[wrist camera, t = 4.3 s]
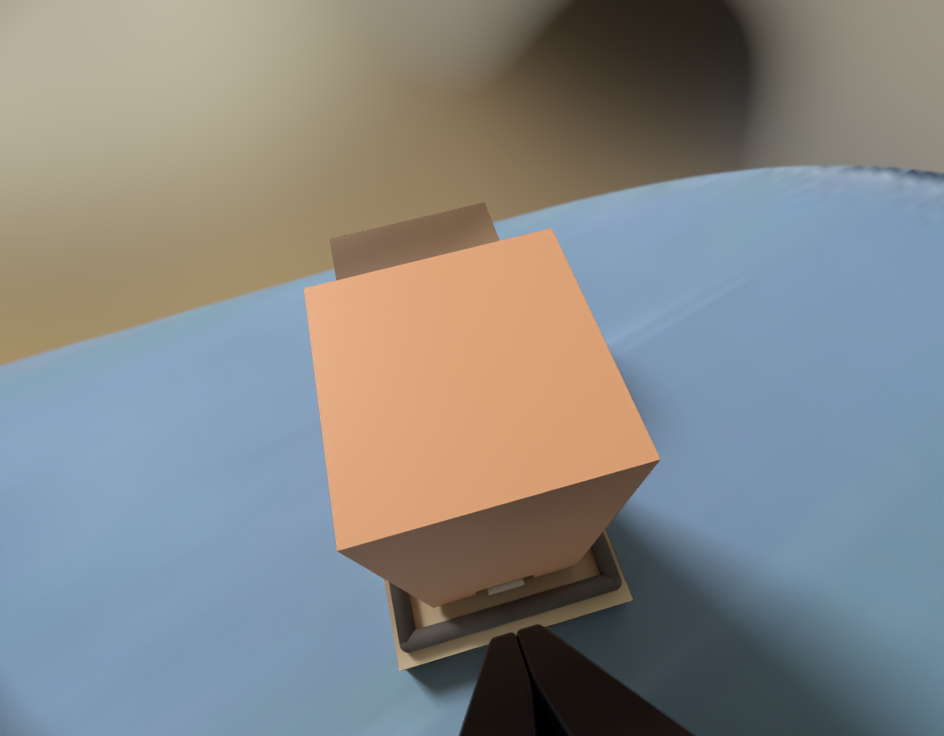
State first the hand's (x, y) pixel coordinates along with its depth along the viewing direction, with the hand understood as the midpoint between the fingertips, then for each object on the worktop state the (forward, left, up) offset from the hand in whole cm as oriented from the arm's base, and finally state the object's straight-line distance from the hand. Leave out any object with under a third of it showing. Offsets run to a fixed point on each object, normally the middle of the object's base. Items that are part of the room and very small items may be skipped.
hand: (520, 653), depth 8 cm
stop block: (+13, 0, -10) cm, 17 cm away
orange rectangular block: (+4, 0, -9) cm, 10 cm away
